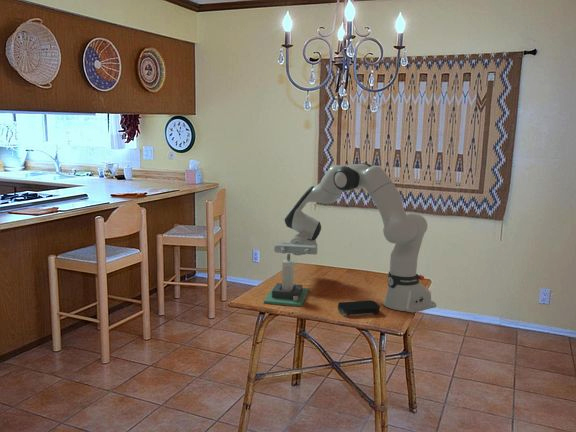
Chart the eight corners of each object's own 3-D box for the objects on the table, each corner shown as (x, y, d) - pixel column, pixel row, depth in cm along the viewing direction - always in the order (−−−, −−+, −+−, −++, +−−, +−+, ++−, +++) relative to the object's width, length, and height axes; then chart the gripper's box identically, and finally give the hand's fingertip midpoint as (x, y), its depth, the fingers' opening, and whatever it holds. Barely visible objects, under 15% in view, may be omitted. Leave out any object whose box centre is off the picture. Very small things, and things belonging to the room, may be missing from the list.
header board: (274, 287, 241) (274, 279, 240) (308, 290, 238) (309, 282, 238) (263, 303, 220) (263, 294, 219) (301, 306, 217) (301, 297, 216)
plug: (283, 292, 231) (284, 251, 228) (293, 293, 231) (294, 252, 227) (281, 296, 226) (282, 254, 223) (291, 297, 225) (292, 255, 222)
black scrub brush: (372, 308, 219) (373, 300, 218) (380, 315, 211) (381, 306, 210) (335, 310, 215) (336, 302, 214) (342, 318, 207) (343, 309, 206)
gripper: (277, 238, 251) (271, 244, 238) (319, 240, 248) (315, 246, 234) (277, 251, 252) (271, 257, 239) (319, 253, 249) (315, 260, 235)
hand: (293, 252), depth 237 cm, fingers open, 8 cm apart
